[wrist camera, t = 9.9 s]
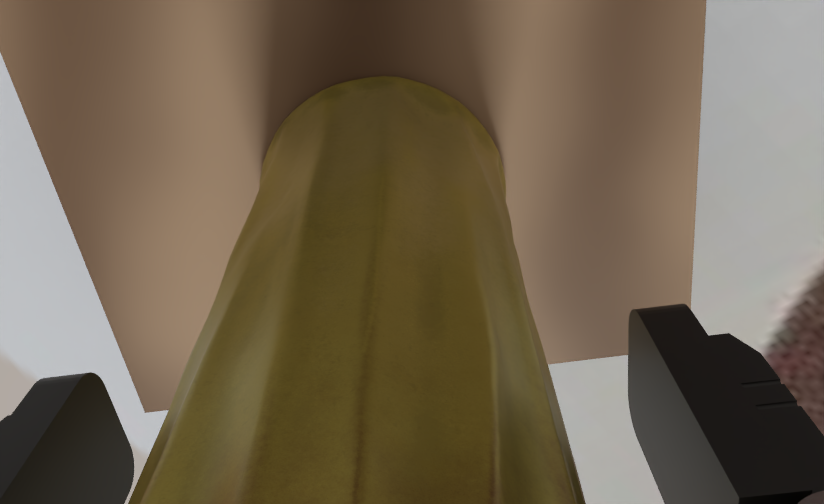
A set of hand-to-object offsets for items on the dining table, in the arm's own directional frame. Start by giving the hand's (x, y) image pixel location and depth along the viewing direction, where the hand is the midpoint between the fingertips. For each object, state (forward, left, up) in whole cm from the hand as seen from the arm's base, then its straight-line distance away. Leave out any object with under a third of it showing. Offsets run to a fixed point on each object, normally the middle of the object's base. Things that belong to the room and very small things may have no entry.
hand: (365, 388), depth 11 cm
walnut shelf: (0, 0, -13) cm, 13 cm away
